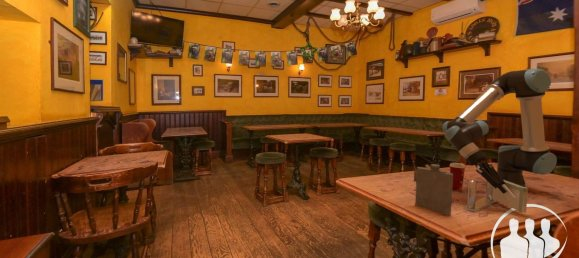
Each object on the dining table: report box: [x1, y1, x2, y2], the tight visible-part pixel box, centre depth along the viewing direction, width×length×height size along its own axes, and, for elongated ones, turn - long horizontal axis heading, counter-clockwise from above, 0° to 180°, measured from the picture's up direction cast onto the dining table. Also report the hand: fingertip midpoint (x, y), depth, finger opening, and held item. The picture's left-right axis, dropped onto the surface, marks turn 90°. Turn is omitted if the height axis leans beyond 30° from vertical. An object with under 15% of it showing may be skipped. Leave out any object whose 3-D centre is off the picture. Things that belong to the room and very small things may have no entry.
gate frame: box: [462, 179, 498, 213], centre depth 135 cm, size 25×5×13 cm, turn 127°
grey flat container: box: [413, 163, 431, 182], centre depth 178 cm, size 11×3×10 cm, turn 113°
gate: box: [492, 180, 529, 213], centre depth 130 cm, size 18×2×10 cm, turn 0°
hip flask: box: [414, 163, 453, 217], centre depth 128 cm, size 16×4×20 cm, turn 32°
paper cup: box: [449, 162, 466, 192], centre depth 160 cm, size 8×8×14 cm
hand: (512, 199), depth 125 cm, fingers closed
